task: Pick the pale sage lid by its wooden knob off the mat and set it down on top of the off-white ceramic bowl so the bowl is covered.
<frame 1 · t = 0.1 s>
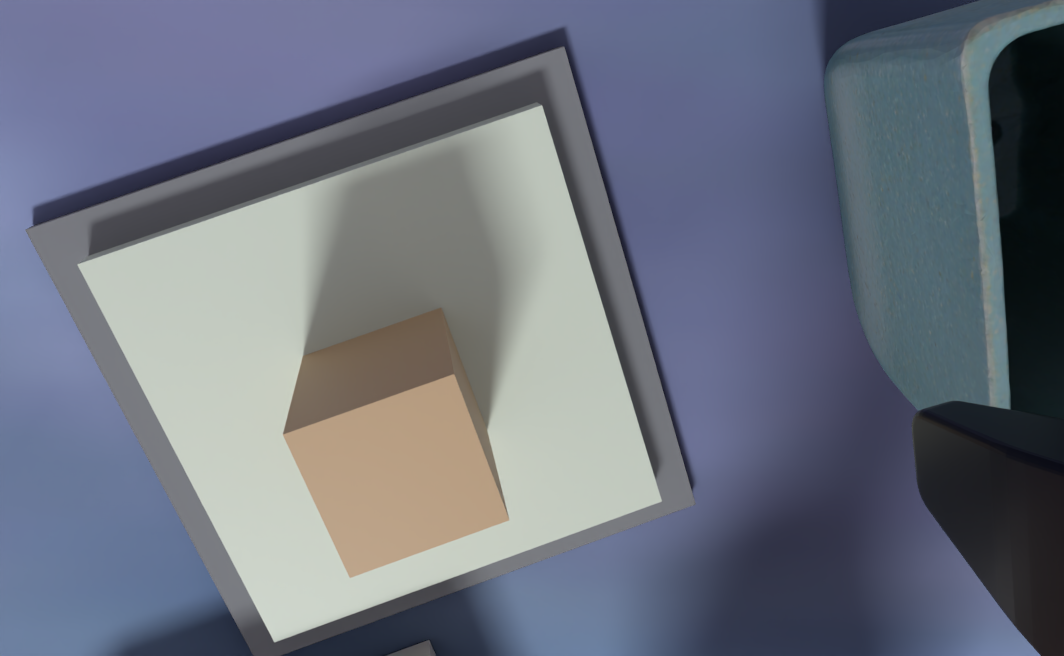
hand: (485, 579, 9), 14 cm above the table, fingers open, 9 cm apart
flower pot: (921, 150, 24), on the table
mat: (397, 376, 23), on the table
lid: (398, 424, 20), on the mat
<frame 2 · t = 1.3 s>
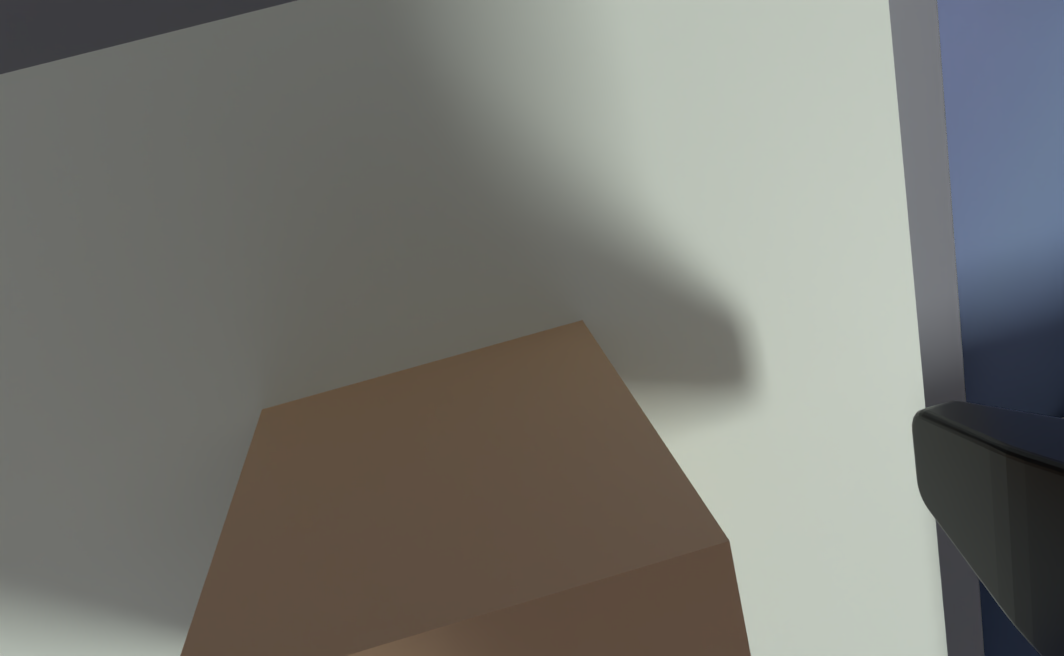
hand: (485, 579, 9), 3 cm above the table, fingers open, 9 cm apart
mat: (458, 455, 11), on the table
lid: (482, 599, 8), on the mat
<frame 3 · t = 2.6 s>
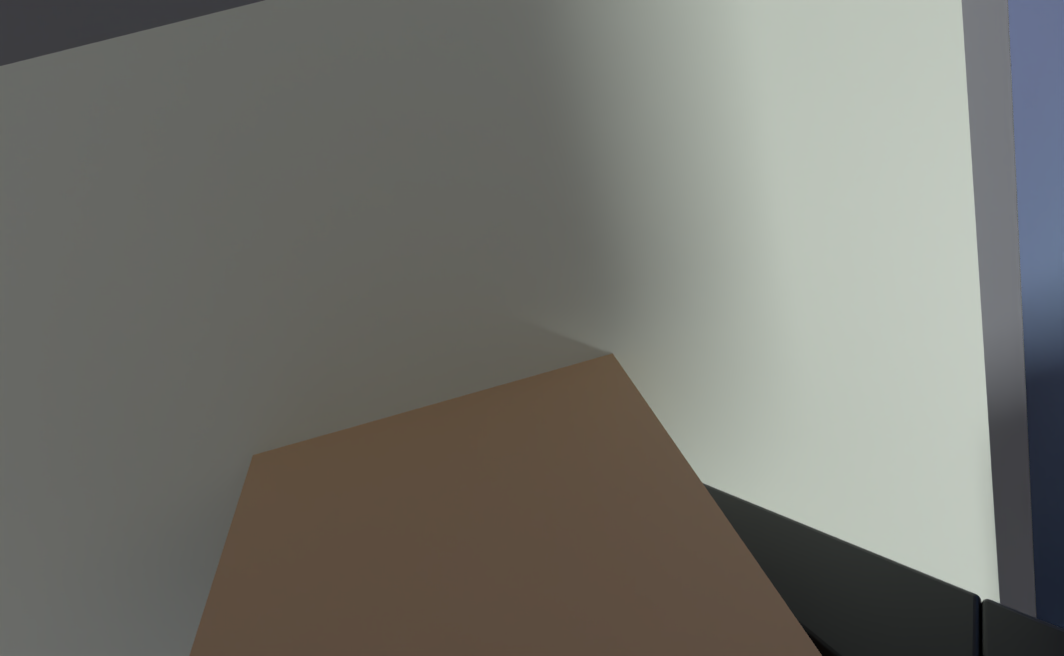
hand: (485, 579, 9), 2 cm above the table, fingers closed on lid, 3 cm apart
mat: (470, 498, 10), on the table
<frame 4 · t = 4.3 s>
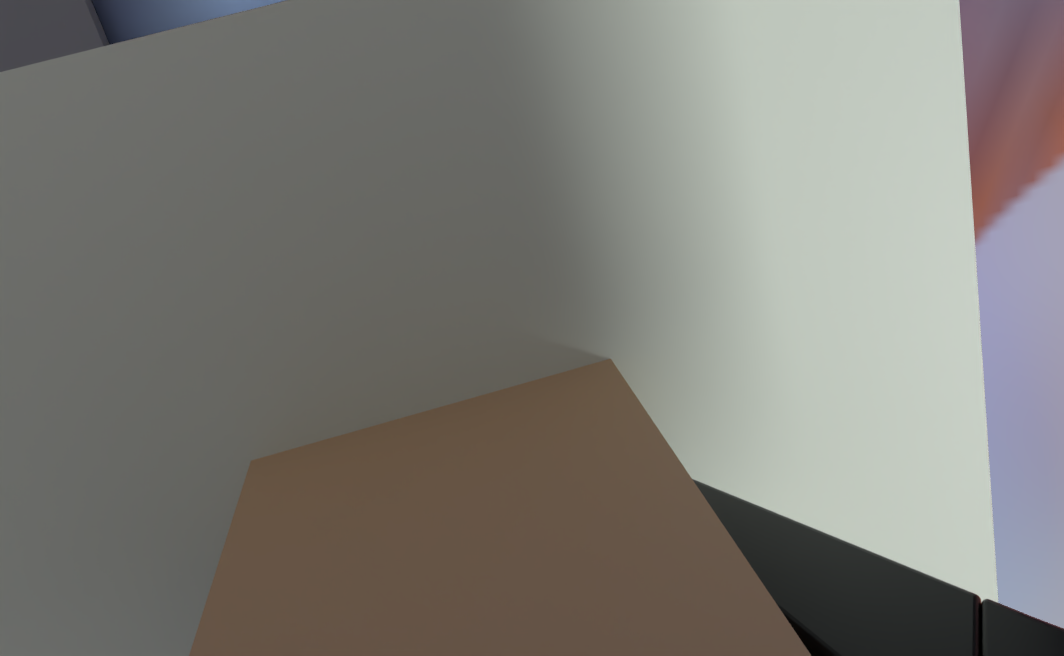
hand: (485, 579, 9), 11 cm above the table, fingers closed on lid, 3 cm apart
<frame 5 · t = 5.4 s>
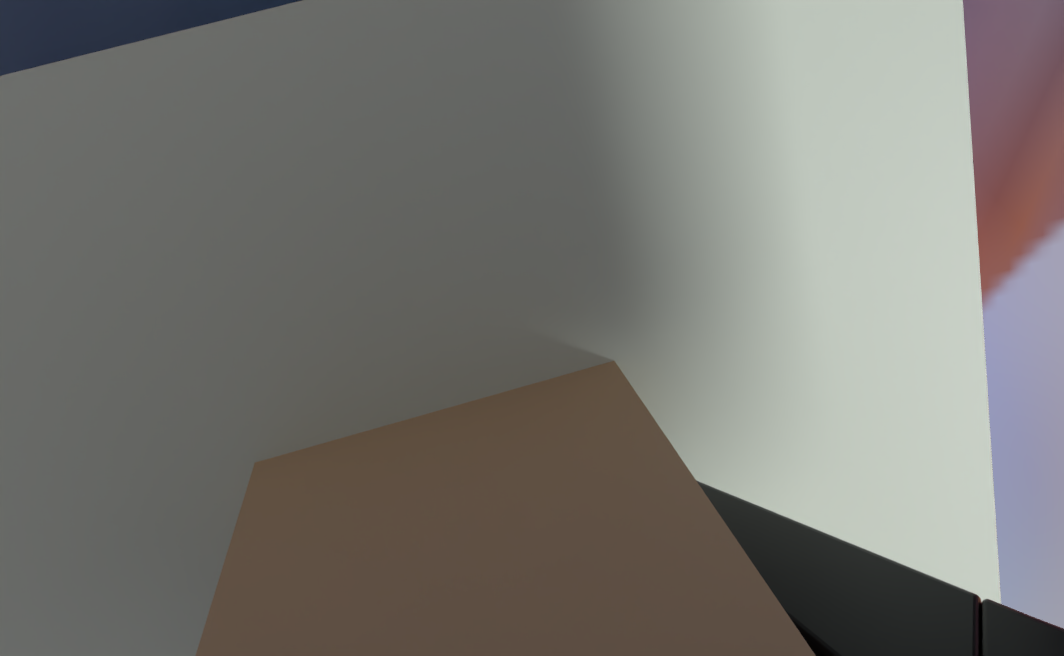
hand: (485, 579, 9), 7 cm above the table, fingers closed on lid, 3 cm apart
when the fingers open (7 cm above the table, at t = 6.1 s): lid drops 1 cm, resting on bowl.
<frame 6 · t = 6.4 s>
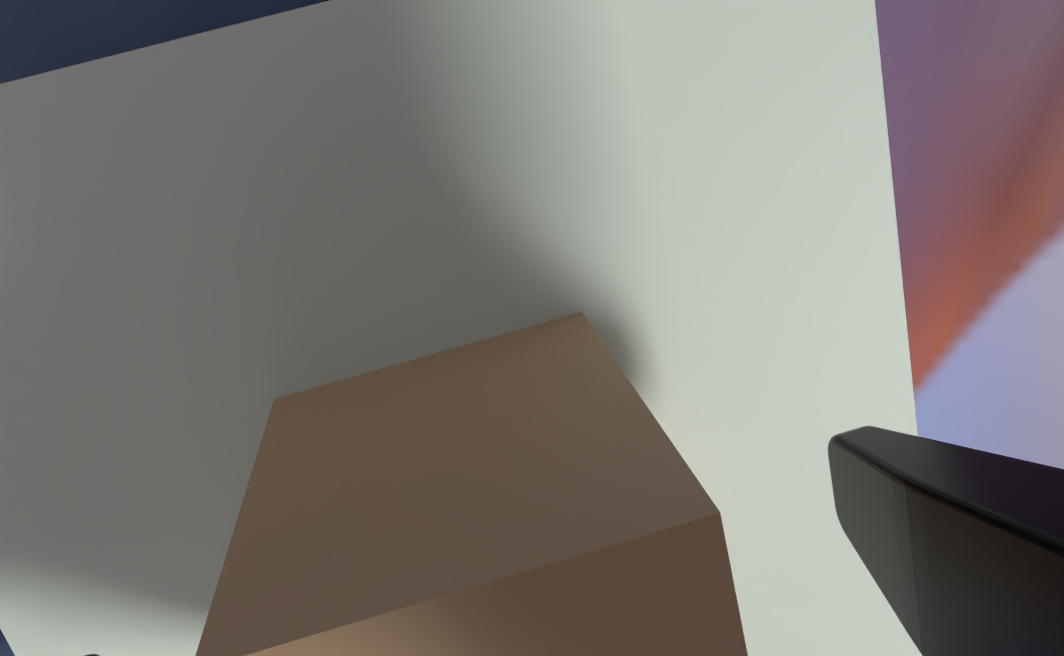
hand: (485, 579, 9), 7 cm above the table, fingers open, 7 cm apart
lid: (486, 578, 9), on the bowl, point 7 cm above the table
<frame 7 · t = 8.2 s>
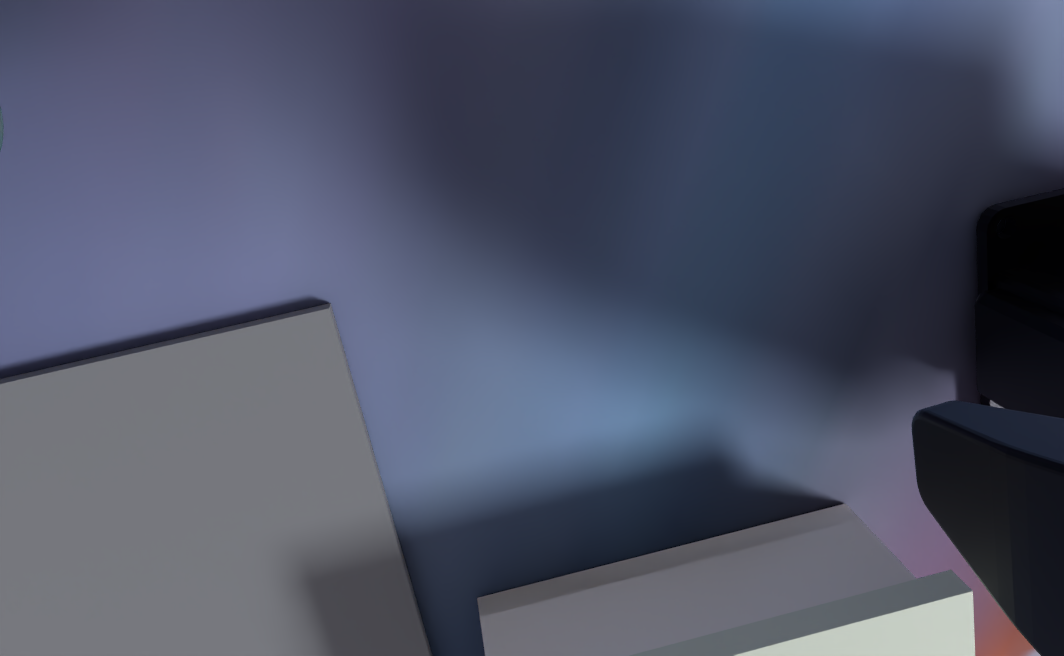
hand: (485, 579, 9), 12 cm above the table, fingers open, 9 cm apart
mat: (138, 612, 22), on the table
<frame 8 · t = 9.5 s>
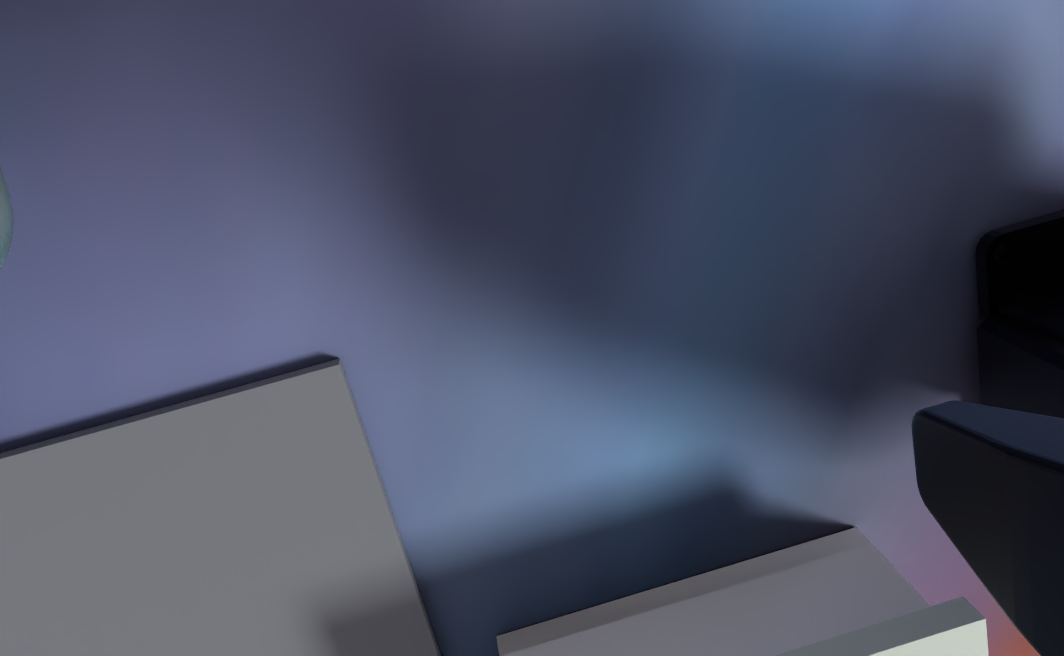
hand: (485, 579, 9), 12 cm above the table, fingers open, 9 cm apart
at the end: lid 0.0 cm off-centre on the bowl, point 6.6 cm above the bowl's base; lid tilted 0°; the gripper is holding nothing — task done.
